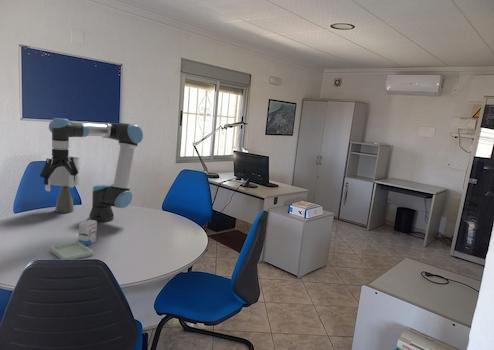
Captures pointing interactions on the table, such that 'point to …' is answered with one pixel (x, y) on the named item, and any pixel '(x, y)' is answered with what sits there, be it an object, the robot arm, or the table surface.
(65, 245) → the tray
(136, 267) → the table surface
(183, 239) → the table surface
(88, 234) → the ink box
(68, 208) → the lamp
